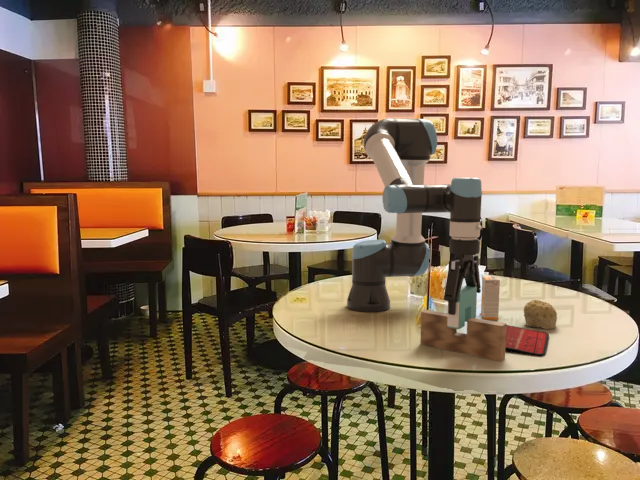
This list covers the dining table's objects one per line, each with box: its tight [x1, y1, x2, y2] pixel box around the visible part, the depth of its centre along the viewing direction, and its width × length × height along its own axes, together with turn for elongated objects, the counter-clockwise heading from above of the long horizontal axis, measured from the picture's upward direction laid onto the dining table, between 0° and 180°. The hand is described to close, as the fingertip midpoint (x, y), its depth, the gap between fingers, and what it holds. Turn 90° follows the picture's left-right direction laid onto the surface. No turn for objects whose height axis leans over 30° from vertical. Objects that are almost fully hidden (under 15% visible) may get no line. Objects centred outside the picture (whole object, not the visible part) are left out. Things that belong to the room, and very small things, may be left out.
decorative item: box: [523, 299, 558, 330], centre depth 158 cm, size 10×10×10 cm
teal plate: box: [448, 285, 478, 330], centre depth 134 cm, size 11×3×9 cm, turn 142°
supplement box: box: [480, 274, 501, 321], centre depth 167 cm, size 8×5×13 cm, turn 168°
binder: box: [505, 324, 550, 357], centre depth 143 cm, size 16×2×21 cm
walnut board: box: [420, 309, 508, 362], centre depth 135 cm, size 22×3×9 cm, turn 52°
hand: (462, 321), depth 134 cm, fingers closed on teal plate, 11 cm apart
